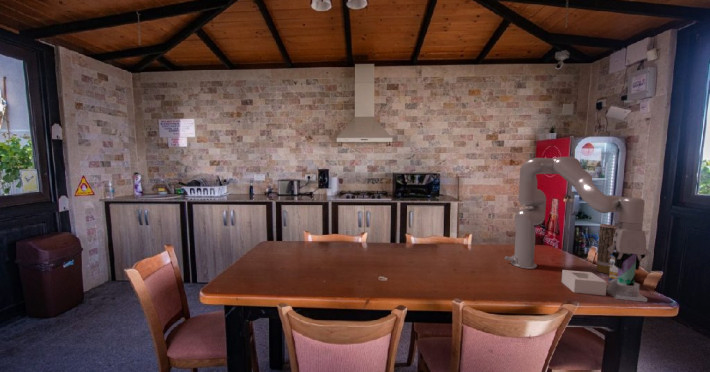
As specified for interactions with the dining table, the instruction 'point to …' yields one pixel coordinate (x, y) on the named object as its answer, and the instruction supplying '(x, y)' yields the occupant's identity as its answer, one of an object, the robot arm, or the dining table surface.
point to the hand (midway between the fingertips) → (626, 267)
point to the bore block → (584, 282)
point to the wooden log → (605, 247)
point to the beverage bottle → (613, 268)
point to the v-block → (624, 291)
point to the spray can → (627, 270)
